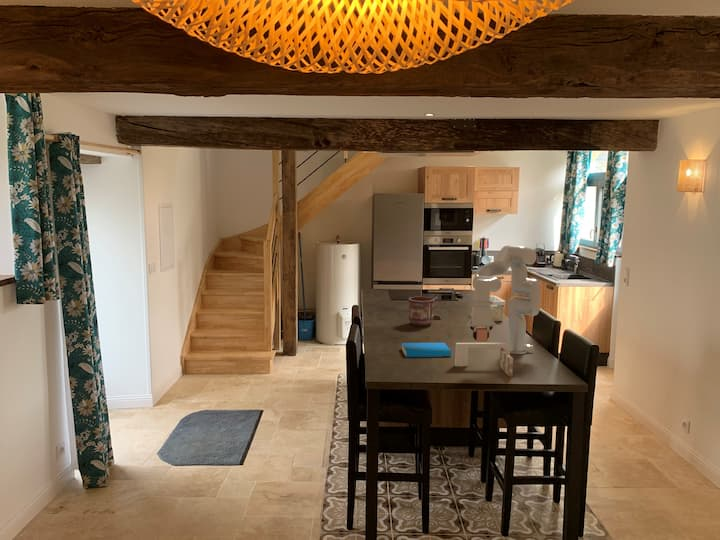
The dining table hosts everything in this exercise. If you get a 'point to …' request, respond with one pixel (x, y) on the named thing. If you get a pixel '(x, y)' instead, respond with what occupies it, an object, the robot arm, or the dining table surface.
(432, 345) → the book
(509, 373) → the beige wavy panel
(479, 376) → the dining table surface
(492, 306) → the storage basket
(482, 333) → the salmon pink cube
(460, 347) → the wall frame
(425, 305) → the pottery
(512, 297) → the robot arm
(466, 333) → the dining table surface
